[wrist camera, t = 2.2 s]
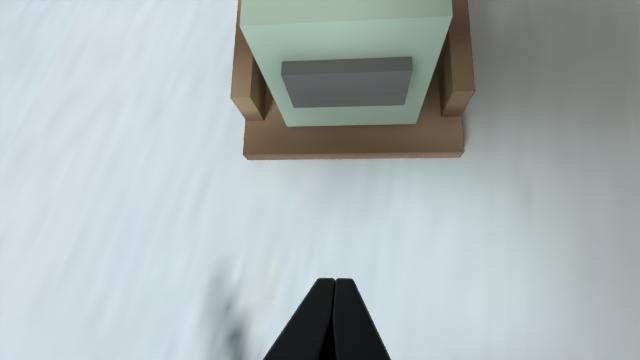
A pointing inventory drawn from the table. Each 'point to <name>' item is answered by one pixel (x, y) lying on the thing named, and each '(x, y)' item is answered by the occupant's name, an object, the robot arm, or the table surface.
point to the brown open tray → (361, 140)
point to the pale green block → (346, 57)
